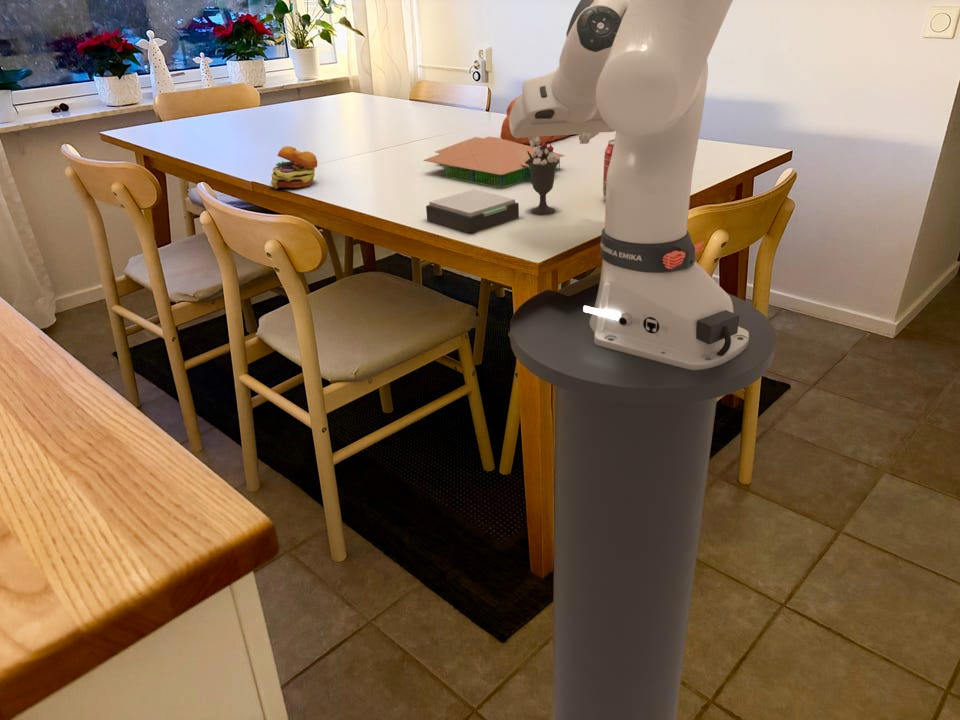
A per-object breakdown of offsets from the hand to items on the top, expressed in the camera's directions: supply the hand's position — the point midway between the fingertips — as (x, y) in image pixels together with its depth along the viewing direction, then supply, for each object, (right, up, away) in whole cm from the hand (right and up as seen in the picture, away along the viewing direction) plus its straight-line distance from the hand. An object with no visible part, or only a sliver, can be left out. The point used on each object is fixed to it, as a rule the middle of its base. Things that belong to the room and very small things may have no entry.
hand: (558, 142), depth 136 cm
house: (-12, +6, +45) cm, 47 cm away
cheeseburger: (-59, +2, +41) cm, 72 cm away
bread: (+6, +26, +82) cm, 86 cm away
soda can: (+15, -7, +18) cm, 25 cm away
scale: (-16, -12, +10) cm, 23 cm away
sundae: (-2, -10, +14) cm, 17 cm away
